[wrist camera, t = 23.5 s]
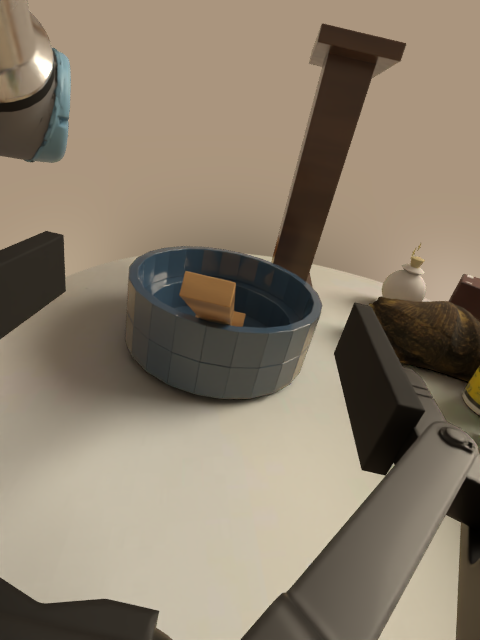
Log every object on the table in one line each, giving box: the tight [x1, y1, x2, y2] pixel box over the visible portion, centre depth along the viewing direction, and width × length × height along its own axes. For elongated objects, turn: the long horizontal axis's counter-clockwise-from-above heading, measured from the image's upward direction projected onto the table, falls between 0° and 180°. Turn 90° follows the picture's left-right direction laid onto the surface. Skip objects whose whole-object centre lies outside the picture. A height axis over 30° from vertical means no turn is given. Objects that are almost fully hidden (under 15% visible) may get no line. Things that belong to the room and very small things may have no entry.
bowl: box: [125, 246, 322, 399], centre depth 34 cm, size 18×18×7 cm
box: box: [448, 274, 480, 322], centre depth 51 cm, size 6×6×7 cm
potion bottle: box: [382, 244, 426, 302], centre depth 53 cm, size 6×7×10 cm
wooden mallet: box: [179, 271, 246, 327], centre depth 27 cm, size 21×4×2 cm
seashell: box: [369, 297, 480, 382], centre depth 42 cm, size 16×9×7 cm, turn 80°
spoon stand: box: [271, 24, 406, 287], centre depth 45 cm, size 12×8×29 cm, turn 174°
